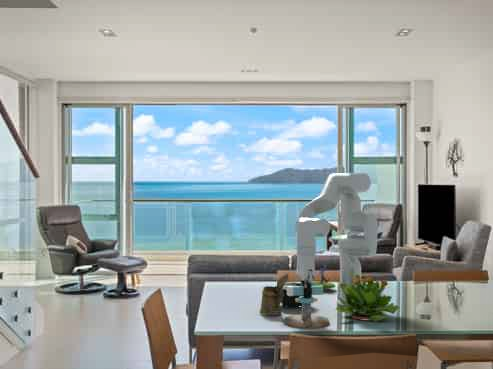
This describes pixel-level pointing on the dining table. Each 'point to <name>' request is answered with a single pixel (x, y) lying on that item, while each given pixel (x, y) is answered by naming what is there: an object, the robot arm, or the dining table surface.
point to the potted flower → (366, 299)
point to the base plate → (303, 325)
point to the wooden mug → (273, 297)
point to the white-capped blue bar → (300, 291)
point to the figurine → (323, 278)
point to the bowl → (290, 300)
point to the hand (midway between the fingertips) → (306, 296)
